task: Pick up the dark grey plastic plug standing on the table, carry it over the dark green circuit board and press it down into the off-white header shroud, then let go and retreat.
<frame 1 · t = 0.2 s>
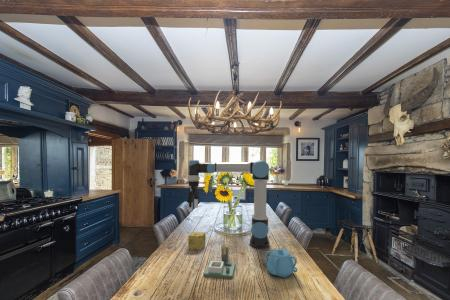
hand: (193, 209, 181), 28 cm above the table, fingers open, 13 cm apart
header board: (220, 269, 145), on the table
cheese: (196, 247, 181), on the table
plug: (225, 260, 158), on the table
decorative pot: (280, 273, 142), on the table
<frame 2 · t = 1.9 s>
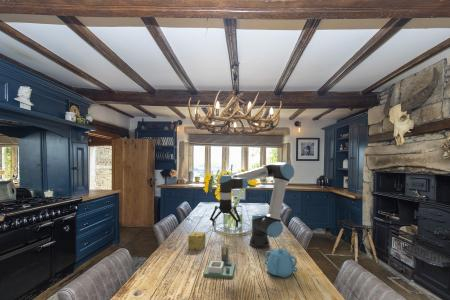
hand: (225, 231, 158), 19 cm above the table, fingers open, 13 cm apart
nothing on the table moved.
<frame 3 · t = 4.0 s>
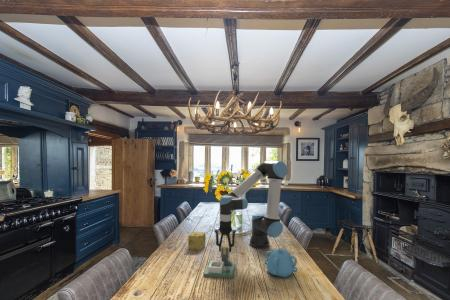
hand: (225, 256, 158), 3 cm above the table, fingers closed on plug, 4 cm apart
plug: (225, 260, 158), on the table, touching gripper
everything else where it was.
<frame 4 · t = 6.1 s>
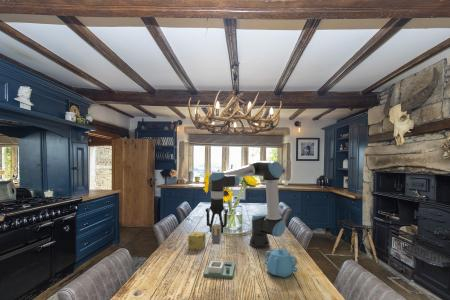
hand: (216, 238, 143), 19 cm above the table, fingers closed on plug, 4 cm apart
plug: (216, 242, 143), point 17 cm above the table, touching gripper
everything else where it was.
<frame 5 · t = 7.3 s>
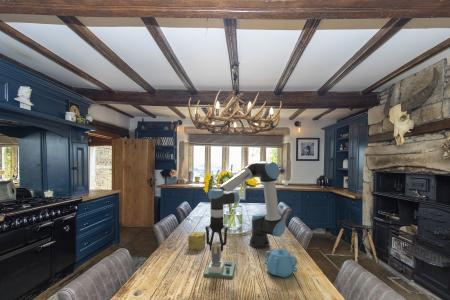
hand: (216, 256, 142), 9 cm above the table, fingers closed on plug, 4 cm apart
plug: (216, 261, 142), point 6 cm above the table, touching gripper
everything else where it was.
when the fingers open (5 cm above the table, at t = 8.4 s): plug stays where it is, resting on header board.
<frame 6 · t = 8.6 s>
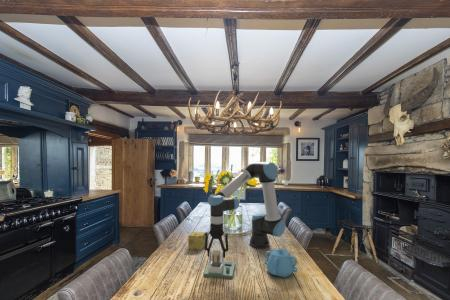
hand: (216, 262, 142), 5 cm above the table, fingers open, 7 cm apart
plug: (216, 269, 142), point 2 cm above the table, touching header board
everything else where it was.
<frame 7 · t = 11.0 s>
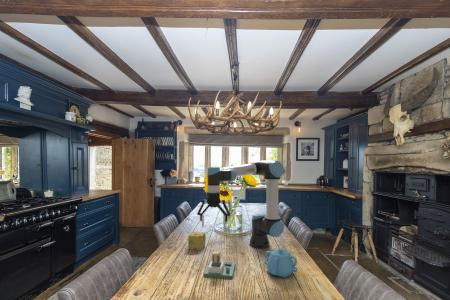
hand: (213, 226, 150), 24 cm above the table, fingers open, 13 cm apart
nothing on the table moved.
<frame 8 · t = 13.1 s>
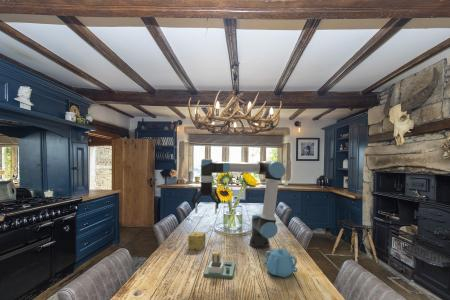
hand: (206, 213, 165), 29 cm above the table, fingers open, 13 cm apart
nothing on the table moved.
at the end: plug 0.0 cm from the target spot on the header board, point 1.5 cm above the header board's base; plug tilted 0°; the gripper is holding nothing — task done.
